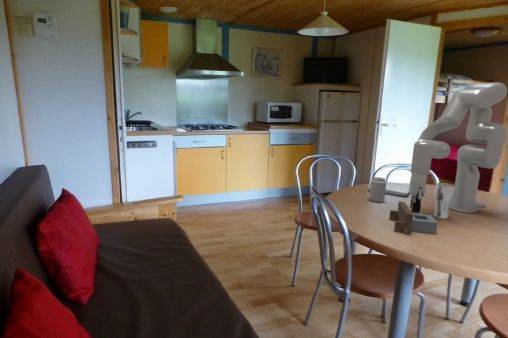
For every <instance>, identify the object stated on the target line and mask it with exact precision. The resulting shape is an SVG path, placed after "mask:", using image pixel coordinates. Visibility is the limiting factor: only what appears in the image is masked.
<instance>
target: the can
mask: <svg viewBox="0 0 508 338" xmlns="http://www.w3.org/2000/svg"><path fill="white" fill-rule="evenodd" d="M386 182H387V180H386V178H384V177H379V176H377V177H376V176H374V177H372V179H371V180H370V185H369V186H370V189H369V196H368V199H369V200H370V202H372V203H383V202H384V201H385V199H386V193H385V191H386Z"/></svg>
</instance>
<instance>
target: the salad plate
mask: <svg viewBox="0 0 508 338" xmlns="http://www.w3.org/2000/svg"><path fill="white" fill-rule="evenodd" d="M409 185H410V184H406V183H405V184H404V183H398V182H392V181H386V191H385V195H386V194H387V195H392V196H400V197H405V196H407V195H408V194H410V192H409ZM367 188H368V189H369V190H370V185H369V186H367Z"/></svg>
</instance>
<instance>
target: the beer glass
mask: <svg viewBox="0 0 508 338" xmlns="http://www.w3.org/2000/svg"><path fill="white" fill-rule="evenodd" d="M454 187H455V184H451V183H447V182H437V185H436V187H435V193H434V195H435V196H434V201H435V208H434V211H433V215H432V217H433V218H436V219H441V220H448V219H449V210H450V208H449V207H450V204H451V203H452V200H453V194H454Z"/></svg>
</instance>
